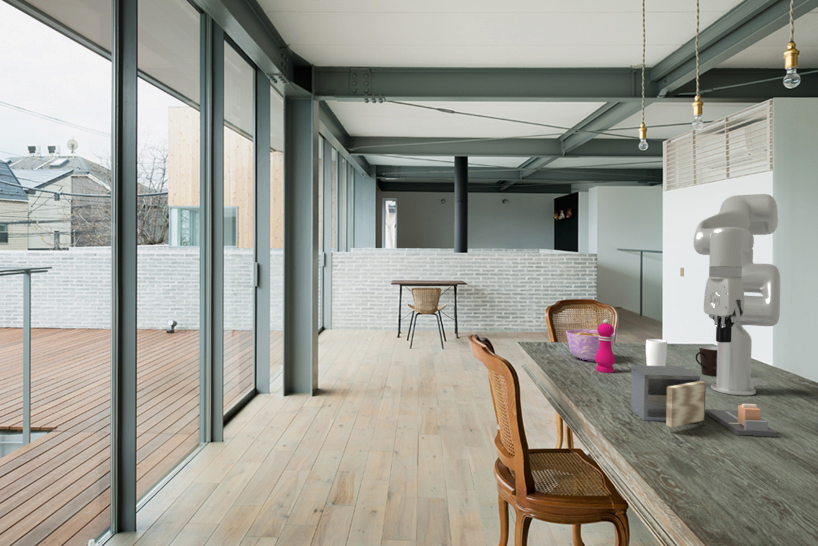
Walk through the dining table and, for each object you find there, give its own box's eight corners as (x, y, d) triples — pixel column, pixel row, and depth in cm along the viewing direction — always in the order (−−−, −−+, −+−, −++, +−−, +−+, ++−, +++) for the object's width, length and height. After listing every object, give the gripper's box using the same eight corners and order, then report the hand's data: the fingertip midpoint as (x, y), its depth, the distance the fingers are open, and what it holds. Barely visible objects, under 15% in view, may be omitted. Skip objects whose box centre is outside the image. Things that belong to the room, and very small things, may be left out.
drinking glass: (644, 384, 179) (645, 341, 179) (645, 380, 185) (646, 338, 185) (666, 386, 176) (667, 342, 176) (666, 382, 182) (667, 339, 182)
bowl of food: (576, 353, 235) (576, 327, 235) (621, 358, 223) (621, 332, 222) (557, 360, 220) (558, 333, 220) (605, 366, 207) (606, 337, 207)
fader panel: (740, 414, 146) (740, 401, 146) (776, 437, 128) (777, 422, 128) (705, 413, 147) (706, 400, 147) (737, 435, 129) (737, 421, 129)
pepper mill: (617, 373, 196) (618, 320, 195) (598, 373, 196) (599, 320, 195) (610, 369, 203) (611, 318, 202) (592, 368, 203) (593, 318, 202)
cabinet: (681, 409, 151) (682, 366, 150) (698, 422, 139) (699, 376, 138) (630, 407, 152) (631, 365, 152) (643, 420, 140) (644, 374, 140)
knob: (752, 422, 134) (753, 402, 134) (760, 427, 130) (760, 406, 130) (737, 421, 134) (738, 402, 134) (744, 426, 131) (745, 406, 131)
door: (700, 423, 138) (701, 380, 138) (706, 425, 137) (707, 381, 136) (666, 431, 131) (666, 386, 131) (671, 433, 130) (672, 388, 130)
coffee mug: (718, 372, 198) (718, 346, 198) (729, 377, 190) (730, 350, 189) (686, 371, 199) (686, 345, 199) (696, 376, 191) (696, 349, 191)
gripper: (694, 272, 145) (692, 337, 146) (732, 274, 131) (730, 346, 131) (719, 272, 146) (717, 337, 147) (759, 274, 131) (757, 346, 132)
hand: (723, 341), depth 139 cm, fingers closed
